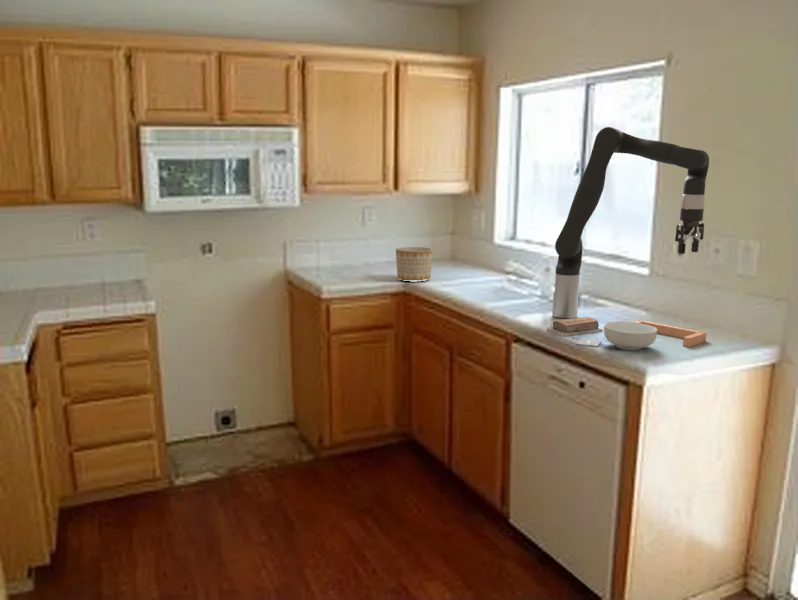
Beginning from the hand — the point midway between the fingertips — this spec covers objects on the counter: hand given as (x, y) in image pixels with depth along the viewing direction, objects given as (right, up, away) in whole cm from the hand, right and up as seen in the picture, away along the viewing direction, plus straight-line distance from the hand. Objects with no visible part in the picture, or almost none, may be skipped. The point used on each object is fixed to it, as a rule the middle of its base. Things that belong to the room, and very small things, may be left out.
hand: (688, 252), depth 243 cm
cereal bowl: (-27, -33, -17) cm, 46 cm away
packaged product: (-40, -29, +5) cm, 49 cm away
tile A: (-39, -32, -13) cm, 52 cm away
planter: (-96, -7, +113) cm, 148 cm away
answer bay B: (-11, -30, -4) cm, 32 cm away
